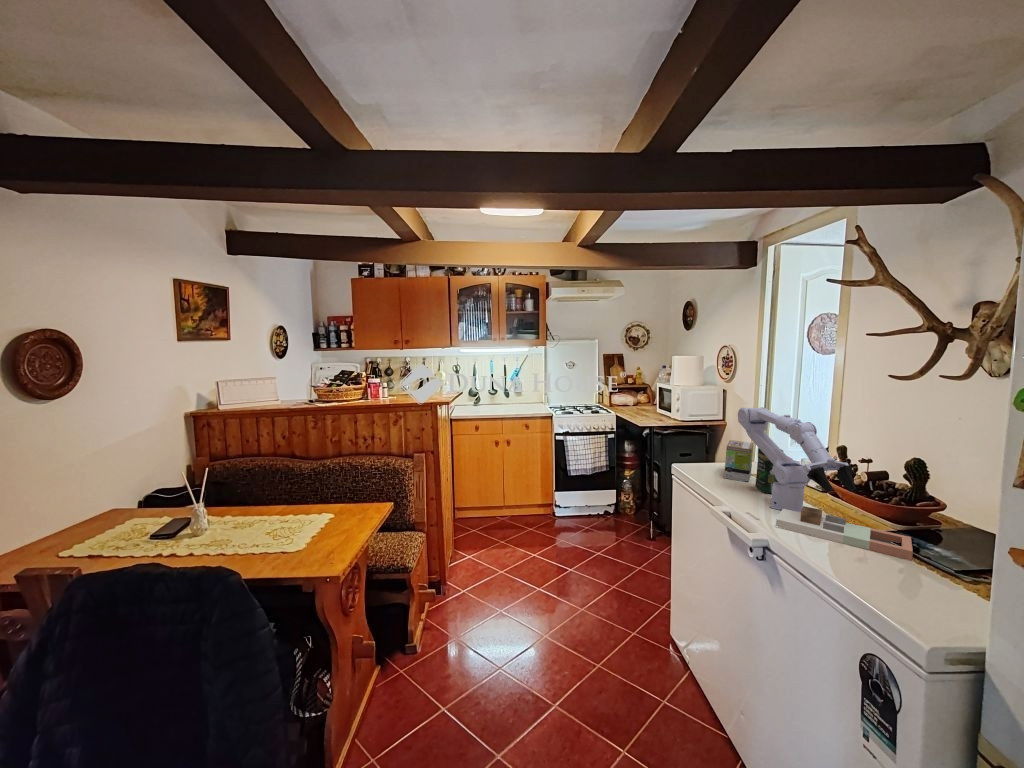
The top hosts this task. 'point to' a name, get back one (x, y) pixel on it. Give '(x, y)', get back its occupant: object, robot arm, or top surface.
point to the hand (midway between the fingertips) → (841, 490)
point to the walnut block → (811, 515)
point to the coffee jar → (764, 473)
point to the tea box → (738, 460)
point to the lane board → (848, 534)
